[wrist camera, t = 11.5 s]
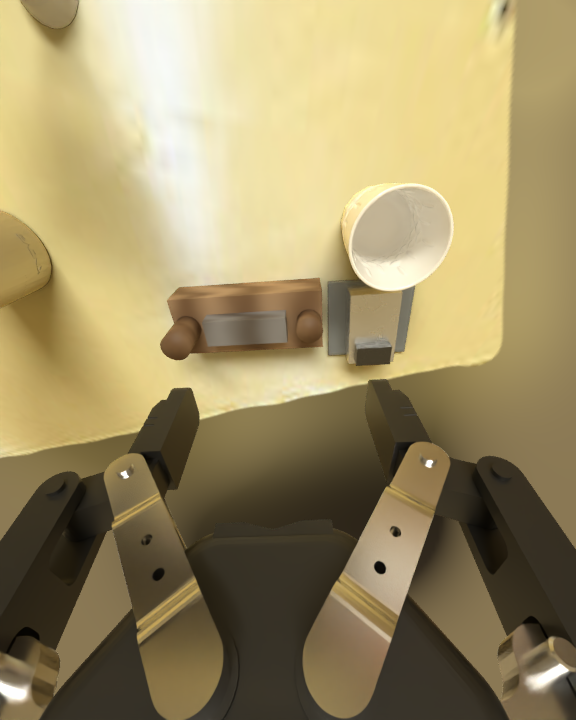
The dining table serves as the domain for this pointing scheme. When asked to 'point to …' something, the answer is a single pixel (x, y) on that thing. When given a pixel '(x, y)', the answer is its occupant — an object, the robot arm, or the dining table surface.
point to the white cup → (396, 234)
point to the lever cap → (371, 325)
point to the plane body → (244, 317)
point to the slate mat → (338, 316)
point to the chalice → (52, 11)
